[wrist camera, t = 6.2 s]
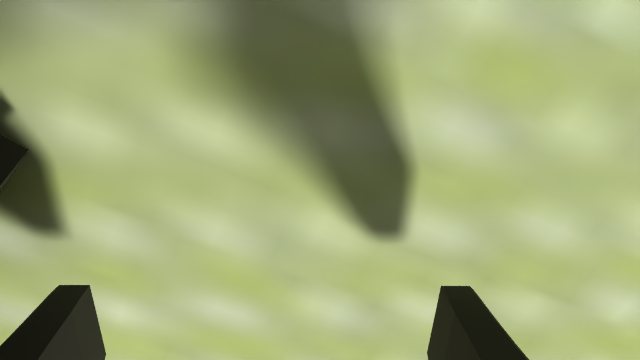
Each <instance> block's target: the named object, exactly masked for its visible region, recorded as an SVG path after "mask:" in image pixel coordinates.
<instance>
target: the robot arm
mask: <svg viewBox="0 0 640 360" xmlns="http://www.w3.org/2000/svg"><path fill="white" fill-rule="evenodd" d="M427 354H428V360H529V359H528V358H527V357H526V356H525V354H524V353H523V352H522V351H521V350H520V348H519V347H518V346H517V345H516V344H515V342H514V341H513V340H512V339H511V337H510V336H509V335H508V334H507V332H506V331H505V330H504V329H503V327H502V326H501V325H500V324H499V322H498V321H497V320H496V319H495V317H494V316H493V315H492V313H491V312H490V311H489V309H488V308H487V307H486V306H485V304H484V303H483V302H482V300H481V299H480V298H479V296H478V295H477V294H476V292H475V291H474V290H473V289H472V288H471V287H470V286H441V289H440V294H439V299H438V303H437V308H436V313H435V318H434V322H433V327H432V332H431V337H430V342H429V346H428V351H427ZM105 356H106V352H105V348H104V343H103V339H102V335H101V331H100V327H99V322H98V318H97V314H96V310H95V306H94V301H93V297H92V293H91V289H90V285H59V286H58V287H56V288H55V289H54V290H53V291H52V292H51V293H50V294H49V295H48V297H47V298H46V299H45V300H44V301H43V302H42V303H41V304H40V305H39V306H38V307H37V308H36V309H35V310H34V311H33V312H32V313H31V314H30V316H29V317H28V318H27V319H26V320H25V321H24V322H23V323H22V324H21V325H20V326H19V327H18V328H17V329H16V330H15V331H14V332H13V333H12V334H11V335H10V336H9V337H8V339H7V340H6V341H5V342H4V343H3V344H2V345H1V346H0V360H105Z"/></svg>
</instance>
